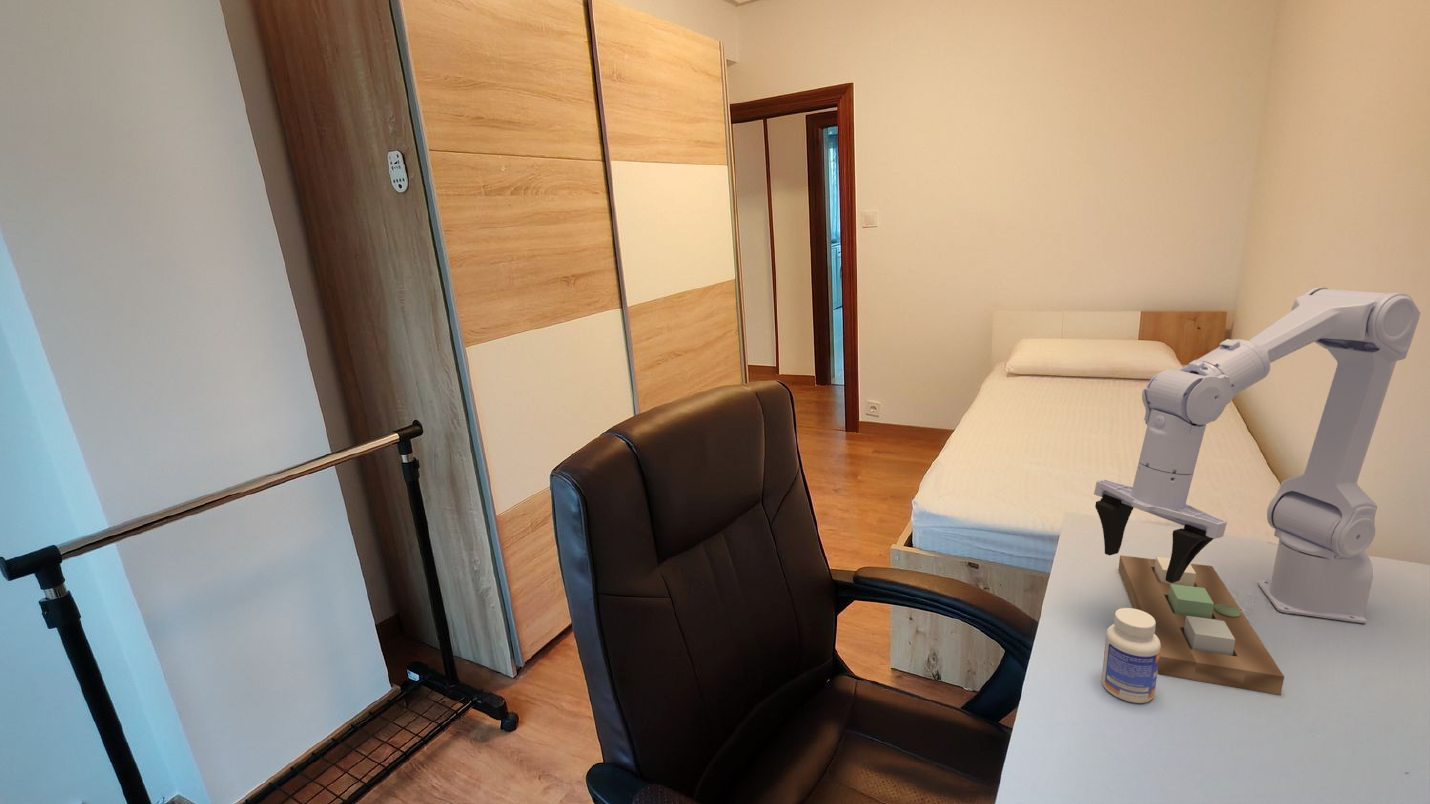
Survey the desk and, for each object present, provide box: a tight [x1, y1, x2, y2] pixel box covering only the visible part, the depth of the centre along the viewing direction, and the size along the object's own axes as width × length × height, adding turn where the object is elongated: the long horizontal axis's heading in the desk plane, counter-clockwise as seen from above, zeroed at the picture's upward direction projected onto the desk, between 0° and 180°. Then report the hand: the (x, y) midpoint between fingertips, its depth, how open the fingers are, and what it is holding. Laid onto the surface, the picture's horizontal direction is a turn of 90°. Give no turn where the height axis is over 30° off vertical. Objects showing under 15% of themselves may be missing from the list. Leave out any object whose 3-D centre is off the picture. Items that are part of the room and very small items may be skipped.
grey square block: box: [1183, 616, 1235, 656], centre depth 81 cm, size 4×4×3 cm
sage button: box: [1167, 584, 1214, 619], centre depth 88 cm, size 4×4×3 cm
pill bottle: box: [1101, 607, 1161, 704], centre depth 76 cm, size 5×5×10 cm
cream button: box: [1154, 556, 1196, 587], centre depth 95 cm, size 4×4×3 cm
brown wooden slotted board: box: [1118, 555, 1285, 696], centre depth 88 cm, size 12×26×3 cm, turn 158°
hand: (1140, 566), depth 83 cm, fingers open, 7 cm apart
